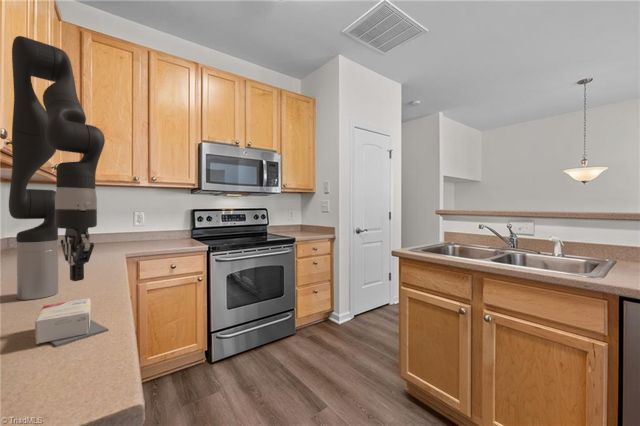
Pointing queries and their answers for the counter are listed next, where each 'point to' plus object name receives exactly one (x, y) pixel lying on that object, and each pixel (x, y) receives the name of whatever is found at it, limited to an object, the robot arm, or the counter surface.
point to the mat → (93, 330)
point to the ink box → (63, 320)
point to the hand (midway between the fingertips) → (76, 280)
